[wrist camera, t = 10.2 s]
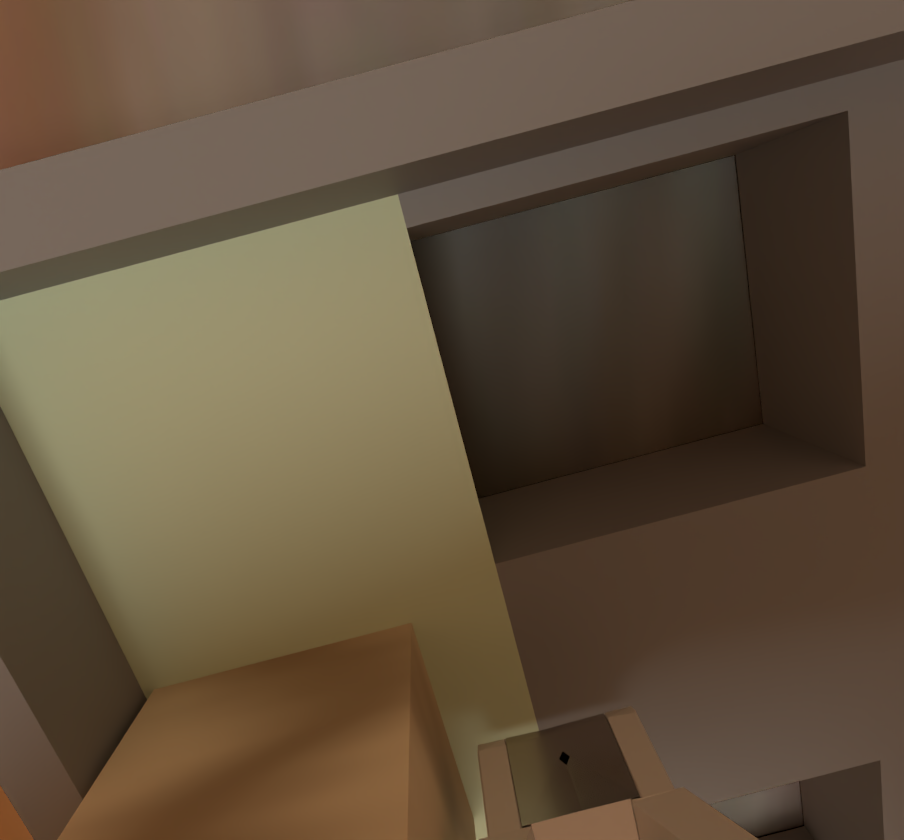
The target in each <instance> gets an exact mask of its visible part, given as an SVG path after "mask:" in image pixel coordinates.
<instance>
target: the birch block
mask: <svg viewBox="0 0 904 840" xmlns="http://www.w3.org/2000/svg"><path fill="white" fill-rule="evenodd" d="M57 840H476V833H475V824H474V818H473V815H472V812H471V808H470V805H469V802H468V799H467V796H466V793H465V790H464V786H463V783H462V780H461V777H460V774H459V771H458V768H457V764H456V761H455V758H454V755H453V752H452V749H451V746H450V742H449V739H448V736H447V733H446V730H445V727H444V723H443V720H442V717H441V714H440V711H439V708H438V705H437V701H436V698H435V695H434V692H433V689H432V686H431V683H430V679H429V676H428V673H427V670H426V667H425V664H424V661H423V657H422V654H421V651H420V648H419V645H418V642H417V639H416V635H415V632H414V629H413V626H412V623H409V624H405V625H401V626H397V627H393V628H389V629H386V630H382V631H378V632H374V633H370V634H366V635H362V636H359V637H355V638H351V639H347V640H343V641H339V642H335V643H332V644H328V645H324V646H320V647H316V648H312V649H308V650H305V651H301V652H297V653H293V654H289V655H285V656H282V657H278V658H274V659H270V660H266V661H262V662H258V663H255V664H251V665H247V666H243V667H239V668H235V669H231V670H228V671H224V672H220V673H216V674H212V675H208V676H204V677H201V678H197V679H193V680H189V681H185V682H181V683H177V684H174V685H170V686H166V687H162V688H158V689H154V690H153V692H152V693H151V695H150V696H149V698H148V699H147V701H146V703H145V704H144V706H143V707H142V709H141V710H140V712H139V713H138V715H137V717H136V718H135V720H134V721H133V723H132V724H131V726H130V727H129V729H128V731H127V732H126V734H125V735H124V737H123V738H122V740H121V741H120V743H119V745H118V746H117V748H116V749H115V751H114V752H113V754H112V755H111V757H110V758H109V760H108V762H107V763H106V765H105V766H104V768H103V769H102V771H101V772H100V774H99V776H98V777H97V779H96V780H95V782H94V783H93V785H92V786H91V788H90V790H89V791H88V793H87V794H86V796H85V797H84V799H83V800H82V802H81V804H80V805H79V807H78V808H77V810H76V811H75V813H74V814H73V816H72V817H71V819H70V821H69V822H68V824H67V825H66V827H65V828H64V830H63V831H62V833H61V835H60V836H59V838H58V839H57Z"/></svg>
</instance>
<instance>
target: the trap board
mask: <svg viewBox="0 0 904 840" xmlns="http://www.w3.org/2000/svg"><path fill="white" fill-rule="evenodd" d="M733 155H736V165H737V174H738V184H739V194H740V204H741V213H742V223H743V233H744V242H745V252H746V262H747V272H748V281H749V291H750V301H751V311H752V320H753V330H754V340H755V350H756V359H757V369H758V379H759V389H760V398H761V408H762V418H763V424H760V425H757V426H753V427H749V428H745V429H742V430H738V431H734V432H730V433H726V434H723V435H719V436H715V437H711V438H707V439H704V440H700V441H696V442H692V443H688V444H685V445H681V446H677V447H673V448H669V449H666V450H662V451H658V452H654V453H650V454H647V455H643V456H639V457H635V458H631V459H628V460H624V461H620V462H616V463H613V464H609V465H605V466H601V467H597V468H594V469H590V470H586V471H582V472H578V473H575V474H571V475H567V476H563V477H559V478H556V479H552V480H548V481H544V482H540V483H537V484H533V485H529V486H525V487H521V488H518V489H514V490H510V491H506V492H502V493H499V494H495V495H491V496H487V497H483V498H480V499H478V497H477V493H476V490H475V486H474V482H473V478H472V474H471V471H470V467H469V463H468V459H467V455H466V452H465V448H464V444H463V440H462V436H461V433H460V429H459V425H458V421H457V417H456V414H455V410H454V406H453V402H452V398H451V395H450V391H449V387H448V383H447V379H446V376H445V372H444V368H443V364H442V360H441V357H440V353H439V349H438V345H437V341H436V338H435V334H434V330H433V326H432V322H431V319H430V315H429V311H428V307H427V303H426V300H425V296H424V292H423V288H422V284H421V281H420V277H419V273H418V269H417V265H416V262H415V258H414V254H413V250H412V246H411V243H410V241H414V240H417V239H421V238H425V237H429V236H432V235H436V234H440V233H444V232H447V231H451V230H455V229H459V228H462V227H466V226H470V225H474V224H477V223H481V222H485V221H489V220H492V219H496V218H500V217H504V216H507V215H511V214H515V213H519V212H522V211H526V210H530V209H534V208H537V207H541V206H545V205H549V204H552V203H556V202H560V201H564V200H567V199H571V198H575V197H579V196H582V195H586V194H590V193H594V192H597V191H601V190H605V189H609V188H613V187H616V186H620V185H624V184H628V183H631V182H635V181H639V180H643V179H646V178H650V177H654V176H658V175H661V174H665V173H669V172H673V171H676V170H680V169H684V168H688V167H691V166H695V165H699V164H703V163H706V162H710V161H714V160H718V159H721V158H725V157H729V156H733ZM409 623H412V626H413V629H414V632H415V635H416V639H417V642H418V645H419V648H420V651H421V654H422V657H423V661H424V664H425V667H426V670H427V673H428V676H429V679H430V683H431V686H432V689H433V692H434V695H435V698H436V701H437V705H438V708H439V711H440V714H441V717H442V720H443V723H444V727H445V730H446V733H447V736H448V739H449V742H450V746H451V749H452V752H453V755H454V758H455V761H456V764H457V768H458V771H459V774H460V777H461V780H462V783H463V786H464V790H465V793H466V796H467V799H468V802H469V805H470V808H471V812H472V815H473V818H474V824H475V833H476V840H479V839H482V838H485V837H488V835H487V827H486V818H485V810H484V802H483V794H482V786H481V778H480V769H479V761H478V745H480V744H485V743H489V742H494V741H498V740H502V739H506V738H509V737H513V736H517V735H522V734H526V733H531V732H535V731H539V730H544V729H548V728H551V727H554V726H558V725H562V724H565V723H569V722H573V721H576V720H580V719H584V718H587V717H591V716H595V715H599V714H602V713H603V714H604V713H607V712H610V711H614V710H618V709H622V708H626V707H629V706H631V707H632V708H633V709H634V710H635V711H636V713H637V715H638V717H639V719H640V721H641V723H642V725H643V727H644V729H645V731H646V733H647V735H648V737H649V739H650V741H651V743H652V745H653V747H654V749H655V751H656V753H657V755H658V757H659V759H660V761H661V762H662V764H663V766H664V768H665V770H666V772H667V774H668V776H669V778H670V780H671V782H672V784H673V786H674V788H675V789H677V788H682V787H684V788H686V789H687V790H689V791H690V792H691V793H693V794H694V795H696V796H697V797H699V798H700V799H702V800H703V801H704V802H706V803H707V804H713V803H717V802H721V801H725V800H729V799H733V798H736V797H740V796H744V795H748V794H752V793H756V792H760V791H763V790H767V789H771V788H775V787H779V786H783V785H787V784H790V783H794V782H798V781H800V788H801V798H802V807H803V817H804V826H803V827H799V828H795V829H792V830H788V831H784V832H780V833H776V834H772V835H768V836H765V837H761V838H758V839H759V840H904V0H632V1H628V2H625V3H621V4H617V5H613V6H610V7H606V8H602V9H598V10H595V11H591V12H587V13H584V14H580V15H576V16H572V17H569V18H565V19H561V20H557V21H554V22H550V23H546V24H543V25H539V26H535V27H531V28H528V29H524V30H520V31H516V32H513V33H509V34H505V35H502V36H498V37H494V38H490V39H487V40H483V41H479V42H476V43H472V44H468V45H464V46H461V47H457V48H453V49H449V50H446V51H442V52H438V53H435V54H431V55H427V56H423V57H420V58H416V59H412V60H408V61H405V62H401V63H397V64H394V65H390V66H386V67H382V68H379V69H375V70H371V71H367V72H364V73H360V74H356V75H353V76H349V77H345V78H341V79H338V80H334V81H330V82H327V83H323V84H319V85H315V86H312V87H308V88H304V89H300V90H297V91H293V92H289V93H286V94H282V95H278V96H274V97H271V98H267V99H263V100H259V101H256V102H252V103H248V104H245V105H241V106H237V107H233V108H230V109H226V110H222V111H219V112H215V113H211V114H207V115H204V116H200V117H196V118H192V119H189V120H185V121H181V122H178V123H174V124H170V125H166V126H163V127H159V128H155V129H151V130H148V131H144V132H140V133H137V134H133V135H129V136H125V137H122V138H118V139H114V140H110V141H107V142H103V143H99V144H96V145H92V146H88V147H84V148H81V149H77V150H73V151H70V152H66V153H62V154H58V155H55V156H51V157H47V158H43V159H40V160H36V161H32V162H29V163H25V164H21V165H17V166H14V167H10V168H6V169H2V170H0V786H1V787H2V789H3V790H4V792H5V794H6V795H7V797H8V798H9V800H10V802H11V803H12V805H13V806H14V808H15V810H16V811H17V813H18V815H19V816H20V818H21V819H22V821H23V823H24V824H25V826H26V827H27V829H28V831H29V832H30V834H31V835H32V837H33V839H34V840H57V839H58V838H59V836H60V835H61V833H62V831H63V830H64V828H65V827H66V825H67V824H68V822H69V821H70V819H71V817H72V816H73V814H74V813H75V811H76V810H77V808H78V807H79V805H80V804H81V802H82V800H83V799H84V797H85V796H86V794H87V793H88V791H89V790H90V788H91V786H92V785H93V783H94V782H95V780H96V779H97V777H98V776H99V774H100V772H101V771H102V769H103V768H104V766H105V765H106V763H107V762H108V760H109V758H110V757H111V755H112V754H113V752H114V751H115V749H116V748H117V746H118V745H119V743H120V741H121V740H122V738H123V737H124V735H125V734H126V732H127V731H128V729H129V727H130V726H131V724H132V723H133V721H134V720H135V718H136V717H137V715H138V713H139V712H140V710H141V709H142V707H143V706H144V704H145V703H146V701H147V699H148V698H149V696H150V695H151V693H152V692H153V690H154V689H158V688H162V687H166V686H170V685H174V684H177V683H181V682H185V681H189V680H193V679H197V678H201V677H204V676H208V675H212V674H216V673H220V672H224V671H228V670H231V669H235V668H239V667H243V666H247V665H251V664H255V663H258V662H262V661H266V660H270V659H274V658H278V657H282V656H285V655H289V654H293V653H297V652H301V651H305V650H308V649H312V648H316V647H320V646H324V645H328V644H332V643H335V642H339V641H343V640H347V639H351V638H355V637H359V636H362V635H366V634H370V633H374V632H378V631H382V630H386V629H389V628H393V627H397V626H401V625H405V624H409Z"/></svg>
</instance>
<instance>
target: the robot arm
mask: <svg viewBox="0 0 904 840" xmlns="http://www.w3.org/2000/svg"><path fill="white" fill-rule="evenodd" d="M478 761H479V769H480V778H481V786H482V794H483V802H484V810H485V818H486V827H487V835H488V837H485V838H482V839H479V840H759V839H758V838H756V837H755V836H753V835H752V834H750V833H749V832H747V831H746V830H745V829H743V828H742V827H740V826H739V825H737V824H736V823H735V822H733V821H732V820H730V819H729V818H727V817H726V816H724V815H723V814H722V813H720V812H719V811H717V810H716V809H714V808H713V807H712V806H710V805H709V804H707V803H706V802H704V801H703V800H702V799H700V798H699V797H697V796H696V795H694V794H693V793H691V792H690V791H689V790H687V789H686V788H684V787H682V788H677V789H675V788H674V786H673V784H672V782H671V780H670V778H669V776H668V774H667V772H666V770H665V768H664V766H663V764H662V762H661V761H660V759H659V757H658V755H657V753H656V751H655V749H654V747H653V745H652V743H651V741H650V739H649V737H648V735H647V733H646V731H645V729H644V727H643V725H642V723H641V721H640V719H639V717H638V715H637V713H636V711H635V710H634V709H633V708H632V707H631V706H629V707H626V708H622V709H618V710H614V711H610V712H607V713H604V714H603V713H602V714H599V715H595V716H591V717H587V718H584V719H580V720H576V721H573V722H569V723H565V724H562V725H558V726H554V727H551V728H548V729H544V730H539V731H535V732H531V733H526V734H522V735H517V736H513V737H509V738H506V739H502V740H498V741H494V742H489V743H485V744H480V745H478Z"/></svg>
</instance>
